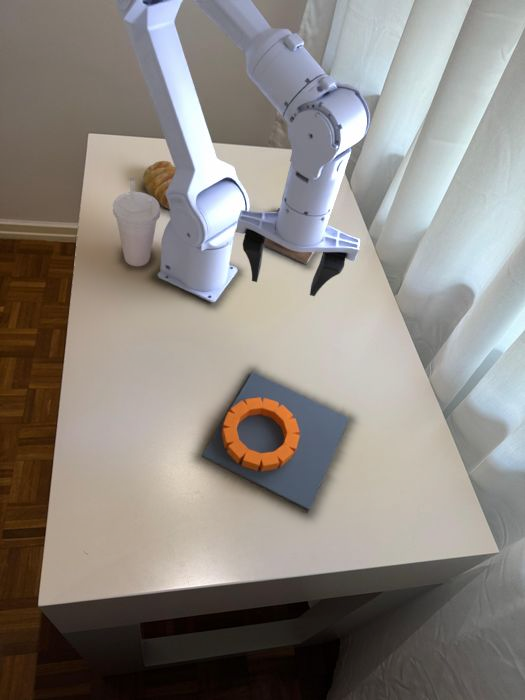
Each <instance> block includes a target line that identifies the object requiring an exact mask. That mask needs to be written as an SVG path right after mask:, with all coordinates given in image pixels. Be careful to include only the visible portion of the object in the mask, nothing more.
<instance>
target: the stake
mask: <svg viewBox="0 0 525 700" xmlns="http://www.w3.org/2000/svg"><path fill="white" fill-rule="evenodd" d="M279 210H280V207H279V208H278V209H277V210H276V211H275V212H279ZM264 247H266V248H268V249H270V250H273V251H275V252H277V253H280V254H282V255H284V256H286V257H289V258H291V259H293V260H295V261H298V262H300V263H301V264H304V265H308V263H309V262H310V260H311V259H312V257H313V255H314V253H315V252H297V251H293V250H290V249H288V248H286V247H284V246H282V245H280V244H278V243H276V242H274V241H272V240H270V239H268V238H267V237H266V239H265V243H264Z"/></svg>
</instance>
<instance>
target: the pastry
mask: <svg viewBox="0 0 525 700" xmlns="http://www.w3.org/2000/svg"><path fill="white" fill-rule="evenodd" d="M175 171H176V168H175V165H174V164H173V163H172V162H170V161H167V160H159V161H156V162H154V164H151V165H149V166H148V167H147V168H146V170H145V171H144V173H143V175H142V178H143V185H144V187H145V190H146V191H147V194H148V195H150V196H152V197H154V198H155V199H156V200H157V201H158V203H159V205H161V206H163V207H164V208H166V209H168V210H170V208H169V203H168V200H167V197H166V195H165V194H166V191H167V189H168V187H169V184H170V182H171V180H172V178H173V176H174V174H175Z"/></svg>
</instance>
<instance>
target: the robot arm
mask: <svg viewBox="0 0 525 700" xmlns="http://www.w3.org/2000/svg"><path fill="white" fill-rule="evenodd" d="M183 1H184V0H114V3H115V5H116V9H117V10H118V14H119V16H120V19H121V20H122V21H123V25H124V27H125V30H126V32H127V36H128V38H129V41H130V44H131V47H132V50H133V52H134V55H135V59H136V61H137V63H138V67H139V70H140V72H141V75H142V78H143V80H144V84H145V86H146V88H147V92H148V95H149V98H150V100H151V103H152V106H153V109H154V112H155V115H156V117H157V121H158V123H159V126H160V128H161V131H162V134H163V137H164V140H165V142H166V145H167V149H168V151H169V154H170V156H171V157H170V158H171V160H172V162H173V163H172V164H173V166H174V167H175V168H176V171H175V174H174V176H173V178H172V180H171V182H170V184H169V187H168V189H167V191H166V194H165V195H166V197H167V200H168V203H169V208H170V209H169V221H168V222H167V224H166V225H165V228H164V231H163V233H162V238H161V245H160V271H158V273H157V278H158V279H161V280H163V281H165V282H167V283H169V284H171V285H174V286H175V287H178V288H180V289H181V290H184V291H186V292H187V293H190V294H193V295H195V296H196V297H199V298H201V299H203V300H206V301H208V302H210V303H215V302H216V301H217V300H218V298H219V297H220V296H221V295H222V293H223V292H224V290H225V289H226V288H227V286H228V285H229V284H230V282H231V281H232V280H233V278H234V277H235V276H236V274H237V273H238V268H237V267H236V266H233V265H232V264H230V261H231V256H232V255H231V254H232V248H233V243H234V237H235V232H236V233H237V234H242V235H244V237H243V241H242V249H243V251H244V253H245V255H246V258H247V259H248V262H249V266H250V271H251V282H254V283H258V280H259V277H260V273H261V272H260V271H261V267H262V262H263V252H264V248H265V246H264V243H265V239H266V237H267V238H268V239H270V240H272V241H274V242H276V243H278V244H280V245H282V246H284V247H286V248H288V249H290V250H293V251H297V252H314V253H321V258H320V261H319V264H318V266H317V268H316V271H315V272H314V275H313V278H312V281H311V284H310V290H309V296H312V297H315V296H316V295H317V294H318V293H319V291H320V289H321V288H322V287H323V286H324V285H325V284H326V283H327V282H328V281H330V280H331V279H332V278H334V277H336V276H337V275H340V274H341V273H342V271H343V270H344V267H345V262H346V260H348V261H352V262H355V260H356V258H357V256H358V253H359V250H360V243H361V239H360V238H358V237H354V236H351V235H348V234H347V233H345V232H342V231H341V230H339V229H336V228H334V227H333V226H331V225H329V224H328V223H329V220H330V217H331V214H332V210H333V207H334V204H335V201H336V199H337V197H338V196H337V195H338V193H339V189H340V186H341V183H342V180H343V178H344V175H345V172H346V168H347V164H348V162H349V159H350V156H351V152H352V149H351V147H353V146H355V145H357V143H359V142H360V141H361V140H362V139H363V138H364V137H365V136H366V134H367V133H368V130H369V127H370V124H371V115H370V114H371V113H370V110H369V105H368V104H367V102H366V99H365V98H364V97H363V96H362V93H361V91H360V90H359V89H358V88H357V87H355V86H353V85H351V84H347V83H340V82H339V81H337V79H336V78H333V77H332V76H331V75H328V74H327V73H326V71H325V70H324V69H323V68H322V67H321V65H320V64H319V63H318V62H317V60H315V59H314V57H313V56H312V55H311V54H310V52H308V50H307V49H306V48H305V47H304V44H305V41H304V40H303V39H302V37H301V36H300V35H299V34H298V33H297V32H294V33H292V31H291V30H290V29H288V28H273V27H271V26H270V24H269V23H268V22H267V20H266V19H265V18H264V16H263V15H262V13H261V12H260V11H259V9H258V8H257V7H256V5H255V4H254V2H253V1H252V0H191V1H192V2H194V4H195V5H196V6H197V7H198V8H199V9H200V10H201V11H202V12H203V13H204V14H205V15H206V16H207V17H208V18H209V19H210V20H211V21H212V22H213V23H214V25H216V26H217V27H218V28H219V29H220V30H221V31H222V32H223V33H224V34H225V36H226V37H228V38H229V39H230V40H231V41H232V42H233V43H234V45H235V46H236V47H238V49H240V50H241V52H242V53H244V55H245V71H246V75H247V76H248V77H249V79H250V80H251V81H252V82H253V84H254V85H255V86H256V87H257V88H258V89H259V91H260V92H261V93H262V94H263V96H264V97H265V98H266V99H267V100H268V101H269V103H271V106H273V107H274V108H275V110H276V111H277V112H278V113H279V115H280V116H281V117H282V118H283V119H284V120H285V122H287V126H286V127H287V130H286V131H287V137H288V141H289V143H290V147H291V154H290V159H289V162H290V165H289V167H288V168H289V169H288V172H287V177H286V181H285V184H284V189H283V194H282V197H281V202H280V206H279V208H280V210H279V212H276V211H251V210H250V198H249V195H248V192H247V191H246V189H245V187H244V186H243V184H242V183H241V181H240V180H239V178H238V175H237V173H236V169H235V167H234V166H233V165H232V164H230V163H228V162H226V161H223V160H222V159H219V158H218V157H217V155H216V152H215V148H214V145H213V141H212V139H211V135H210V133H209V129H208V126H207V123H206V120H205V117H204V113H203V110H202V107H201V103H200V100H199V97H198V94H197V91H196V88H195V84H194V81H193V79H192V75H191V72H190V69H189V65H188V62H187V59H186V56H185V53H184V50H183V47H182V43H181V40H180V36H179V34H178V30H177V27H176V24H175V21H176V17H177V15H178V11H179V10H180V7H181V5H182V3H183Z"/></svg>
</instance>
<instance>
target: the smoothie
mask: <svg viewBox="0 0 525 700" xmlns="http://www.w3.org/2000/svg"><path fill="white" fill-rule="evenodd" d="M160 205H161V204H159V202H158V201H157V200H156V199H155V198H154V197H152V196H151V195H150V194H149V193H146V192H143V191H142V192H141V191H135V178H133V177H131V178H129V192H124V193H122V194H120V195H118V196H117V197H116V198H115V199H114V201H113V203H112V214H113V216H114V218H115V219H116V223H117V228H118V232H119V238H120V243H121V247H122V253H123V257H124V261H125V262H126V263H127V264H128V265H130V266H133V267H142V266H145V265H147V264H148V263H149V262H150V259H151V253H152V249H153V243H154V237H155V233H156V226H157V222H158V220H159V219H160V216H161V206H160Z"/></svg>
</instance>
